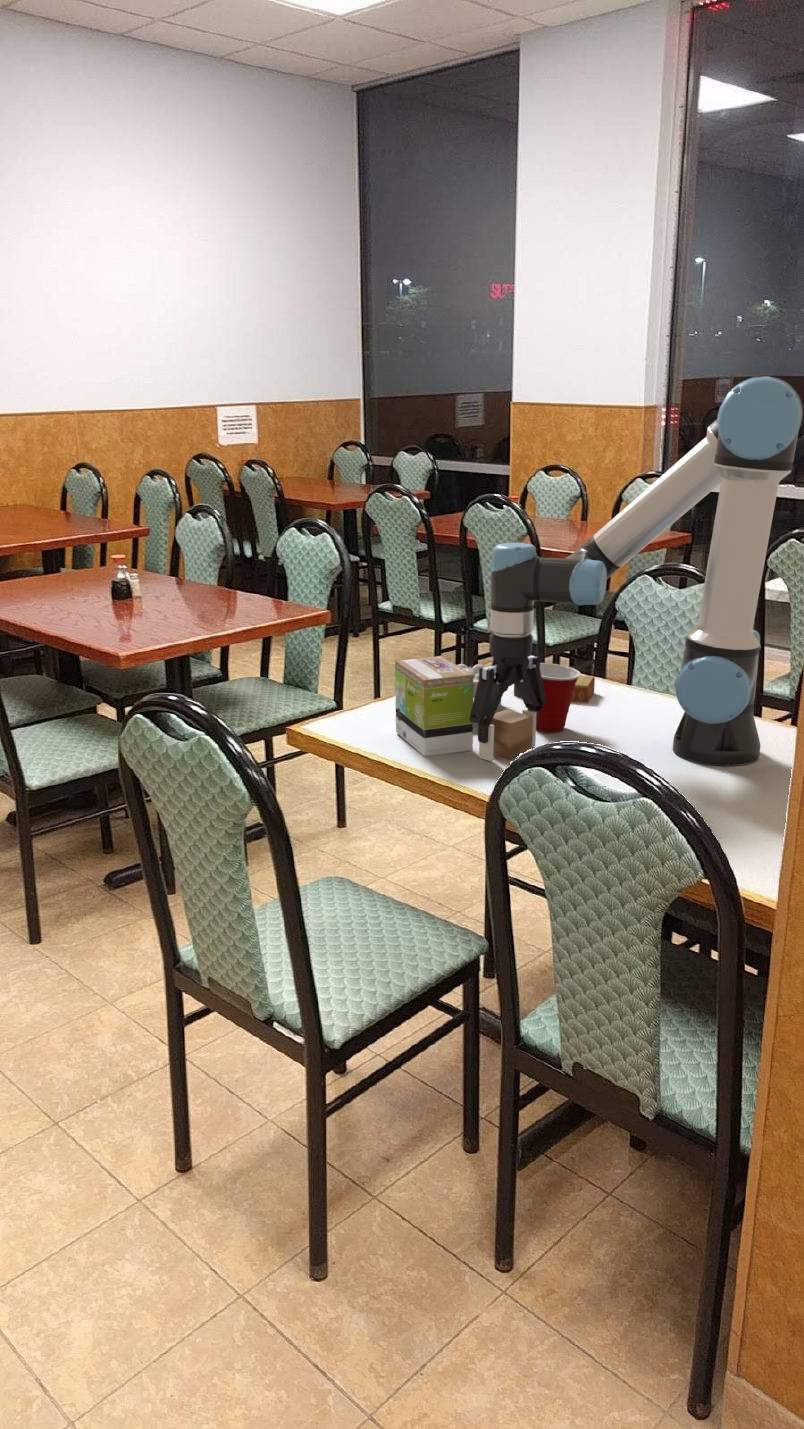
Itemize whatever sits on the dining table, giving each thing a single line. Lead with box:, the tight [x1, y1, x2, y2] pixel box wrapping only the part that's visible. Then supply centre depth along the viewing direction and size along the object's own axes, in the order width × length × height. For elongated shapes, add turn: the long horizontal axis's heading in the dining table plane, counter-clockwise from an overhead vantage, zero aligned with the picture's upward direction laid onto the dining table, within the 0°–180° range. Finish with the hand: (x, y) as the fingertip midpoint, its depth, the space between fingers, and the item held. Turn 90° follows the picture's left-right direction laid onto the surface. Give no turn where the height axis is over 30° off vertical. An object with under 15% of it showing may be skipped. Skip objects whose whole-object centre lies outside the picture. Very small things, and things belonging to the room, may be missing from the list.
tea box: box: [394, 655, 474, 758], centre depth 199 cm, size 15×10×15 cm, turn 21°
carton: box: [513, 674, 596, 704], centre depth 232 cm, size 8×16×4 cm, turn 71°
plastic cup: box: [536, 662, 582, 734], centre depth 208 cm, size 11×11×12 cm
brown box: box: [485, 709, 533, 761], centre depth 195 cm, size 6×6×7 cm
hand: (507, 751), depth 196 cm, fingers open, 11 cm apart
